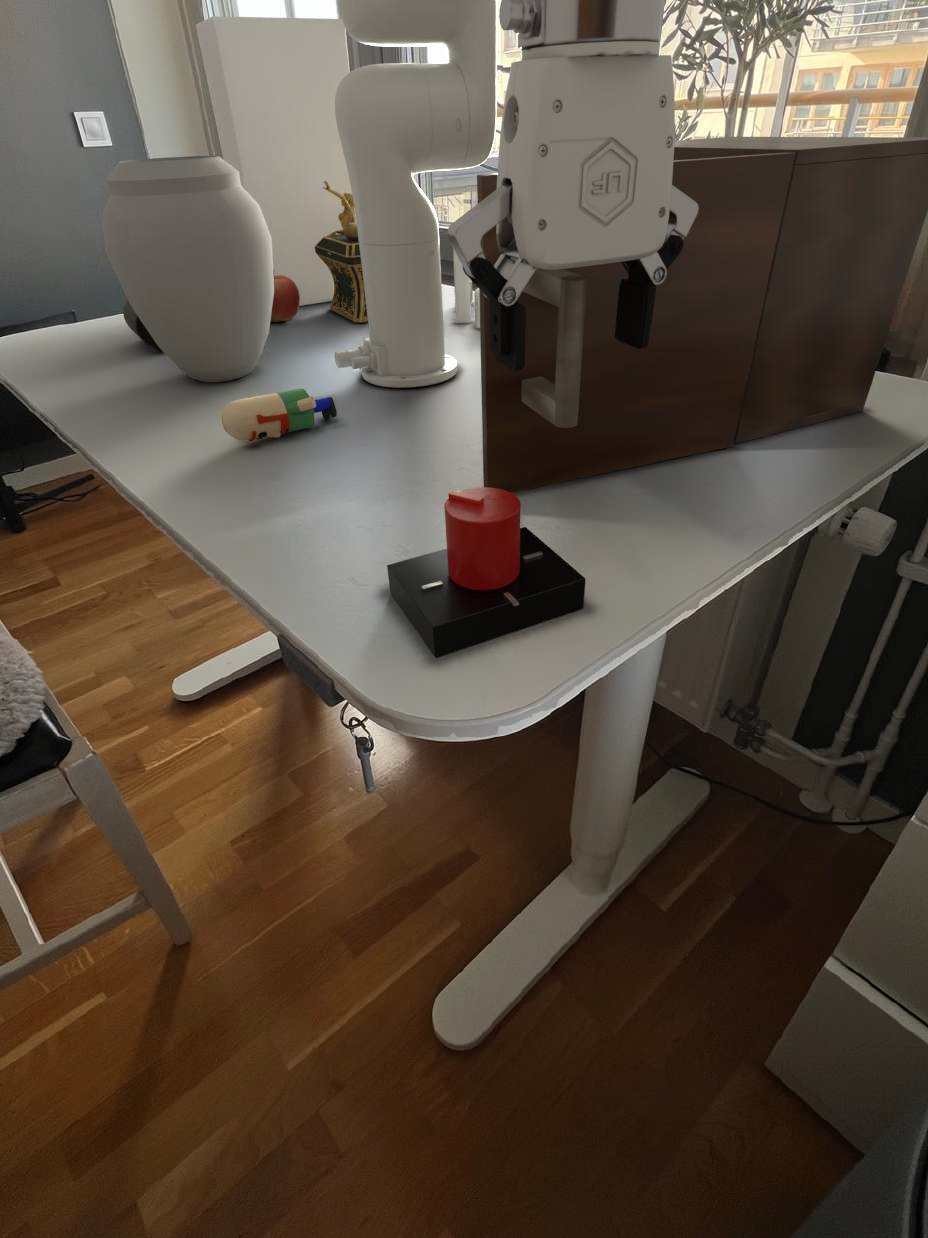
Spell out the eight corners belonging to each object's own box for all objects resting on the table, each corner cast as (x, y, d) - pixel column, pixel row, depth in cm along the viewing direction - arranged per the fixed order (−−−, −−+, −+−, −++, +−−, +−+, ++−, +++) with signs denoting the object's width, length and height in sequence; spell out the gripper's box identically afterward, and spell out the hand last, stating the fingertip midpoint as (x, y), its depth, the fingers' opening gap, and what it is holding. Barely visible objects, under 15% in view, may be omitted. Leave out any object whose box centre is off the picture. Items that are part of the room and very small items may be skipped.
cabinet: (734, 444, 66) (798, 149, 52) (586, 375, 85) (602, 145, 71) (863, 410, 72) (952, 137, 58) (697, 353, 91) (733, 136, 77)
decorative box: (321, 308, 122) (301, 179, 110) (370, 301, 125) (356, 174, 113) (363, 331, 107) (345, 185, 96) (417, 322, 111) (406, 180, 99)
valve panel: (438, 663, 42) (436, 629, 40) (387, 591, 48) (383, 559, 47) (587, 613, 45) (590, 580, 44) (521, 552, 52) (522, 521, 50)
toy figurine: (321, 432, 79) (221, 453, 73) (310, 392, 78) (207, 411, 72) (349, 419, 72) (240, 441, 66) (337, 376, 71) (226, 394, 65)
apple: (282, 313, 120) (272, 263, 115) (313, 318, 116) (305, 266, 111) (246, 323, 115) (235, 271, 110) (278, 328, 111) (268, 275, 106)
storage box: (269, 310, 122) (212, 15, 98) (252, 300, 129) (195, 24, 105) (374, 294, 130) (344, 18, 106) (352, 285, 137) (320, 26, 113)
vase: (294, 348, 101) (258, 151, 86) (296, 388, 86) (253, 157, 71) (159, 361, 98) (98, 160, 83) (136, 405, 83) (57, 167, 68)
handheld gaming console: (473, 314, 122) (472, 323, 109) (458, 315, 122) (455, 323, 109) (471, 244, 117) (470, 244, 103) (455, 245, 117) (452, 245, 104)
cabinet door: (782, 473, 61) (868, 155, 46) (520, 533, 54) (526, 181, 39) (726, 442, 67) (785, 152, 52) (483, 493, 60) (476, 174, 45)
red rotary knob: (531, 562, 46) (533, 491, 43) (498, 598, 42) (497, 524, 39) (471, 546, 48) (468, 477, 45) (434, 579, 45) (429, 507, 41)
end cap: (131, 342, 107) (117, 296, 103) (177, 335, 110) (164, 290, 106) (144, 356, 100) (129, 307, 96) (192, 348, 103) (179, 300, 99)
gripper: (473, 16, 31) (481, 390, 41) (767, 17, 36) (708, 349, 46) (416, 34, 36) (436, 359, 47) (677, 32, 42) (643, 325, 52)
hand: (571, 354), depth 46 cm, fingers open, 9 cm apart
